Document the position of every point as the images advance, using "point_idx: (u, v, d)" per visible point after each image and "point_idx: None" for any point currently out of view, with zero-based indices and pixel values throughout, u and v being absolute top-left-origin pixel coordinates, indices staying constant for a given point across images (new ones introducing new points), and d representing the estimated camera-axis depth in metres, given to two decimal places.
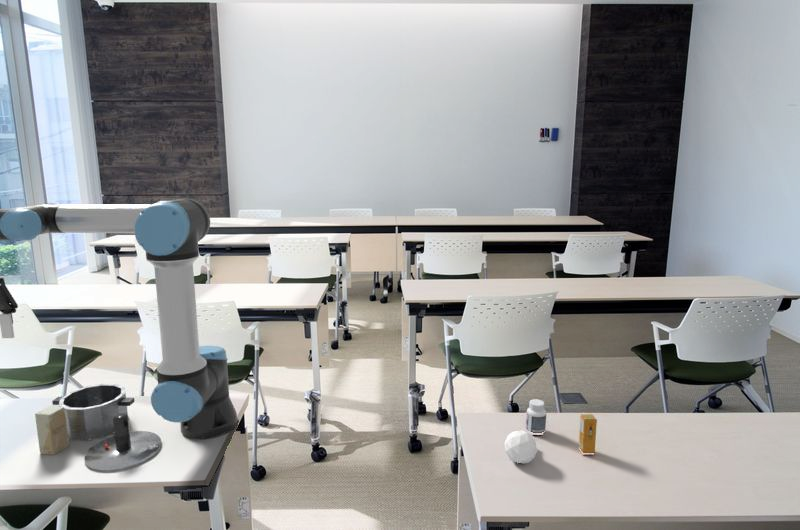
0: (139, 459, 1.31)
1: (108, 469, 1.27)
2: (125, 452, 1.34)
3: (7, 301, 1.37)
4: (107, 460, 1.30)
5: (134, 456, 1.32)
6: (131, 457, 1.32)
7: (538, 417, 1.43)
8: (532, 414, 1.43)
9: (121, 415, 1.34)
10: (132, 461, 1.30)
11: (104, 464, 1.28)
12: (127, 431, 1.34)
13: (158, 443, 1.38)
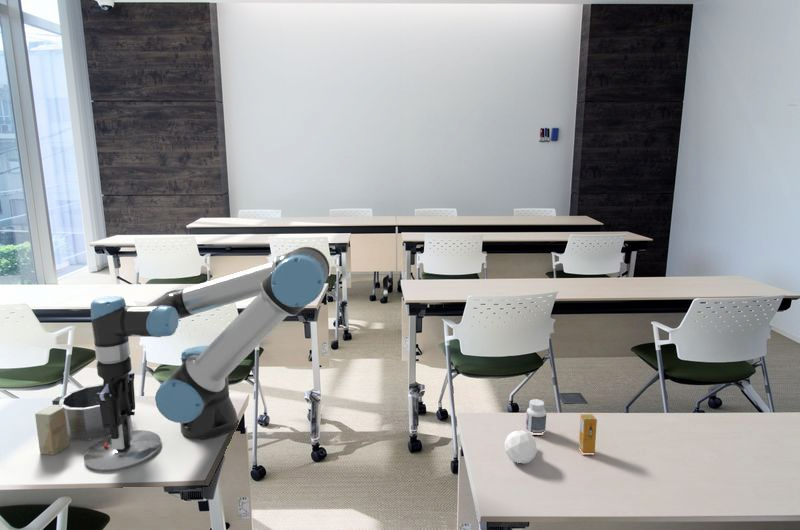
0: (138, 458, 1.30)
1: (108, 468, 1.27)
2: (124, 452, 1.33)
3: (129, 400, 1.38)
4: (106, 459, 1.30)
5: (133, 455, 1.32)
6: (130, 456, 1.31)
7: (538, 417, 1.43)
8: (532, 414, 1.43)
9: (120, 414, 1.34)
10: (131, 460, 1.30)
11: (103, 464, 1.28)
12: (126, 430, 1.34)
13: (158, 442, 1.38)
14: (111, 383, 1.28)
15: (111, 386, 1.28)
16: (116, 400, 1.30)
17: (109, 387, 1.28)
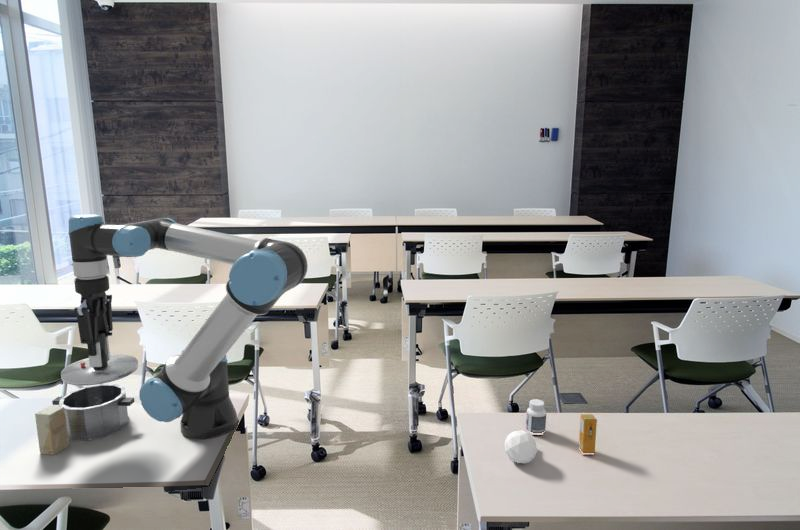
0: (116, 375, 1.32)
1: (85, 382, 1.29)
2: (102, 370, 1.35)
3: None
4: (84, 375, 1.32)
5: (110, 372, 1.34)
6: (108, 373, 1.33)
7: (538, 417, 1.43)
8: (532, 414, 1.43)
9: (98, 333, 1.36)
10: (109, 376, 1.32)
11: (81, 378, 1.30)
12: (104, 349, 1.36)
13: (135, 362, 1.40)
14: (89, 299, 1.30)
15: (89, 302, 1.30)
16: (94, 317, 1.32)
17: (87, 303, 1.30)
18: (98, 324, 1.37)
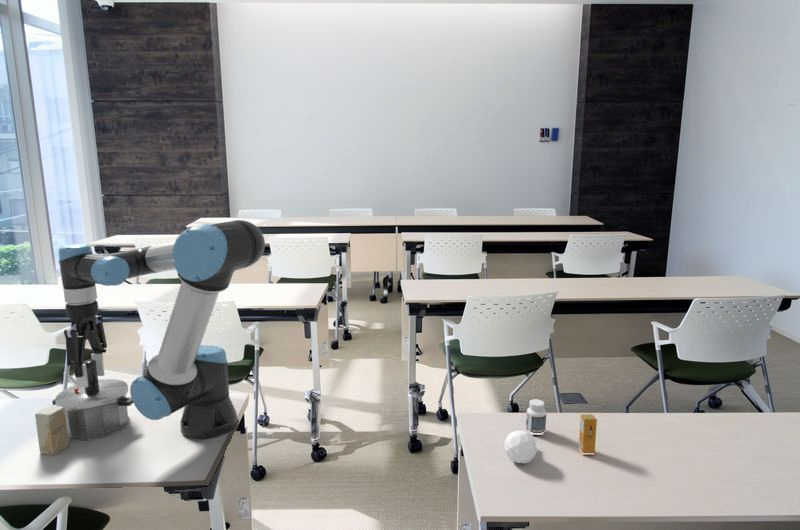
0: (105, 400, 1.42)
1: (76, 408, 1.38)
2: (93, 395, 1.45)
3: (100, 340, 1.50)
4: (76, 401, 1.41)
5: (101, 397, 1.43)
6: (98, 398, 1.43)
7: (538, 417, 1.43)
8: (532, 414, 1.43)
9: (90, 361, 1.46)
10: (99, 401, 1.41)
11: (72, 404, 1.40)
12: (95, 375, 1.45)
13: (125, 388, 1.49)
14: (79, 323, 1.39)
15: (78, 325, 1.39)
16: (82, 339, 1.40)
17: (77, 326, 1.39)
18: (92, 343, 1.47)
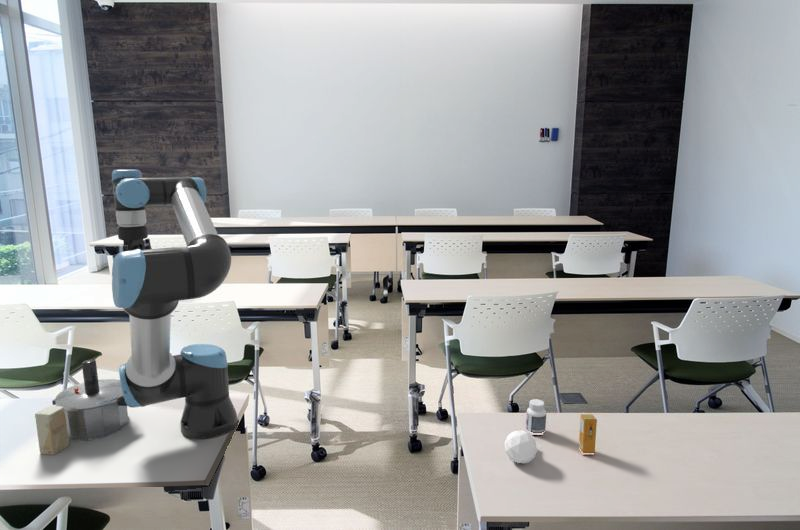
0: (105, 400, 1.42)
1: (76, 408, 1.38)
2: (93, 395, 1.45)
3: None
4: (76, 401, 1.41)
5: (101, 397, 1.43)
6: (98, 398, 1.43)
7: (538, 417, 1.43)
8: (532, 414, 1.43)
9: (90, 361, 1.46)
10: (99, 401, 1.41)
11: (72, 404, 1.40)
12: (95, 375, 1.45)
13: None
14: (131, 243, 1.46)
15: (130, 245, 1.46)
16: None
17: (128, 245, 1.45)
18: None
